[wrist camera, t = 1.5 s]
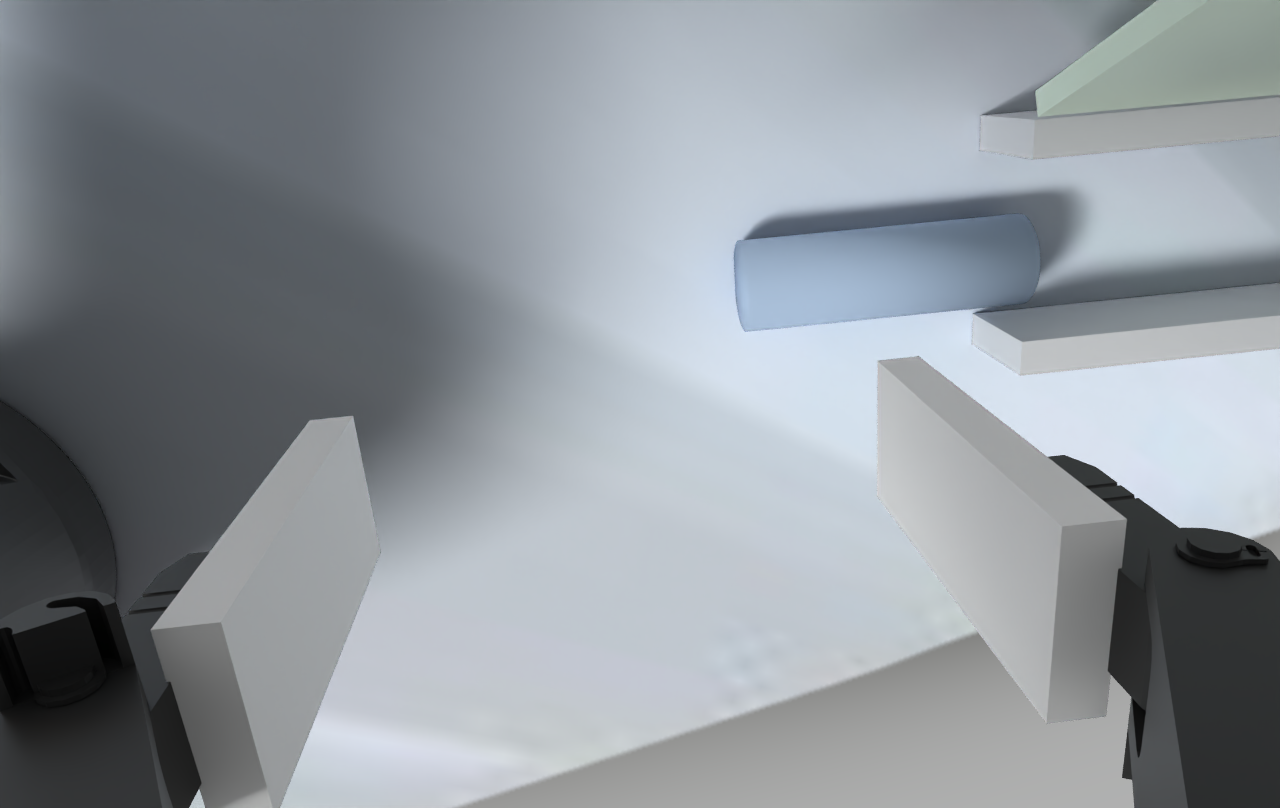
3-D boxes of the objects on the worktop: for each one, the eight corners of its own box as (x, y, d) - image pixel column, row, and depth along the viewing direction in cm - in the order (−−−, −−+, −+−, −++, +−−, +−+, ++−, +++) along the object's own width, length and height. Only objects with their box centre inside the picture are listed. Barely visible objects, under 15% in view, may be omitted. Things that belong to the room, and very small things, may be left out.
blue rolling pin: (731, 290, 35) (747, 350, 32) (735, 221, 32) (752, 281, 30) (991, 264, 35) (1023, 322, 33) (1014, 195, 33) (1050, 252, 30)
